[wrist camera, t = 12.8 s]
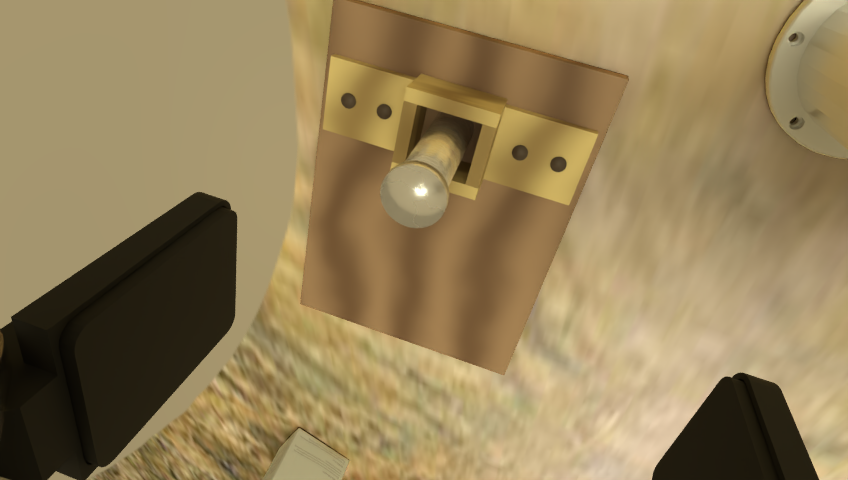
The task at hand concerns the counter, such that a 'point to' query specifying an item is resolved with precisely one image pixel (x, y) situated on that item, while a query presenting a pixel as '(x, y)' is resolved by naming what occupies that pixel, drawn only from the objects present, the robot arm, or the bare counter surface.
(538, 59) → the hinge board
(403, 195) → the hinge pin
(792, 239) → the counter surface
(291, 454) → the skincare box
